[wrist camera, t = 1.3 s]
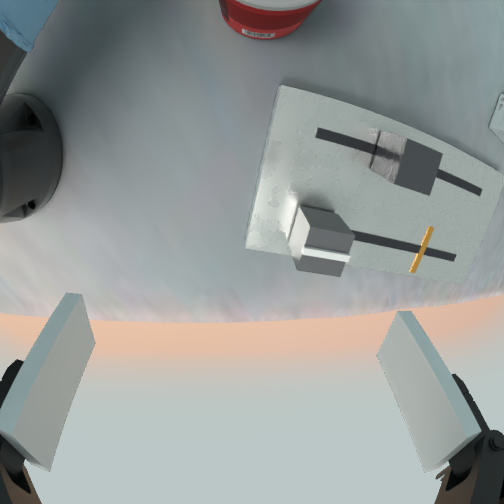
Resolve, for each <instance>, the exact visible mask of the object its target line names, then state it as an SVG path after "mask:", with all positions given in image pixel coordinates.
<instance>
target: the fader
mask: <svg viewBox="0 0 504 504" xmlns="http://www.w3.org/2000/svg"><path fill="white" fill-rule="evenodd" d="M354 238H355V235H354V233H353V232H352V231H351V230H350V228H349V227H348V226H347V224H346V223H345V222H344V221H343V219H342V218H341V217H340V216H339V214H336V213H331V212H327V211H322V210H317V209H313V208H308V207H303V206H299V208H298V211H297V215H296V219H295V222H294V226H293V229H292V233H291V237H290V240H289V247H290V250H291V253H292V256H293V259H294V263H295V266H296V269H297V270H299V271H305V272H312V273H318V274H325V275H331V276H338V277H340V276H341V273H342V270H343V268H344V265H345V263H346V262H349V259H350V257H351V256H350V254H349V252H350V249H351V246H352V244H353V241H354Z"/></svg>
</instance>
